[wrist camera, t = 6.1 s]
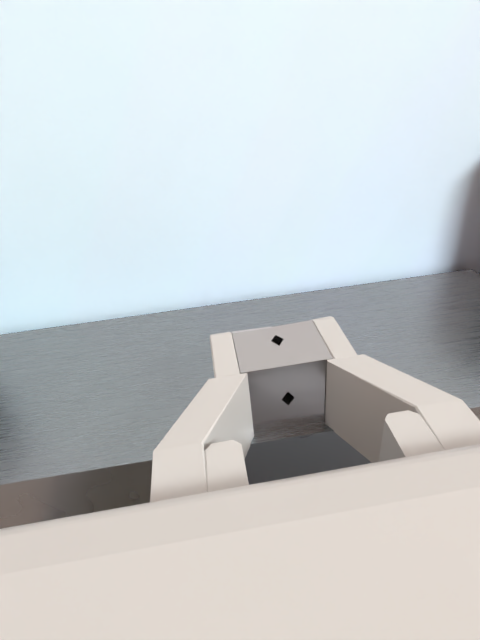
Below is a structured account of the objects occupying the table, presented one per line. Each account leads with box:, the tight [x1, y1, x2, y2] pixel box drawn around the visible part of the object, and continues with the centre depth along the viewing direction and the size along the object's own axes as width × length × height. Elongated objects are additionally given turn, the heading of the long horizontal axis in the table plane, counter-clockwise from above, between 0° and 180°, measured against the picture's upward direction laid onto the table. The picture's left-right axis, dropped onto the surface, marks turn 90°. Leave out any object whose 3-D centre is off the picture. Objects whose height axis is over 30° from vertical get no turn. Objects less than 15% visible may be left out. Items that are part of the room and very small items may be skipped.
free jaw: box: [0, 269, 480, 529], centre depth 13 cm, size 5×16×6 cm, turn 96°
